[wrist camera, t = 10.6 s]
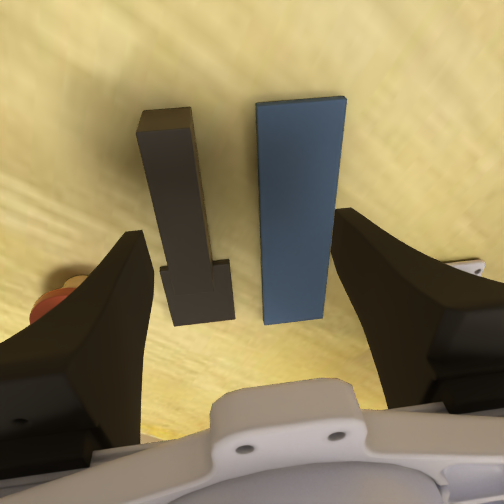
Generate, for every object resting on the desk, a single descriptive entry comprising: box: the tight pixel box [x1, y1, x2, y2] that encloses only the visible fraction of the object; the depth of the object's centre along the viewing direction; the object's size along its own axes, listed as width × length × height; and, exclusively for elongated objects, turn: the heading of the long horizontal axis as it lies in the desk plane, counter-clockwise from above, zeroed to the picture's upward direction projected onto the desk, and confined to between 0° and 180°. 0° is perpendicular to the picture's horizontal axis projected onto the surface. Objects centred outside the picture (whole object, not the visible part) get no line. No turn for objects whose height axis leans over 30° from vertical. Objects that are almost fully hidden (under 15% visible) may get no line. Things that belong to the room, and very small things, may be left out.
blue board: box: [256, 96, 347, 325], centre depth 26 cm, size 18×5×1 cm, turn 2°
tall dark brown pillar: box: [136, 107, 235, 326], centre depth 25 cm, size 17×5×3 cm, turn 2°
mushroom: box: [29, 275, 88, 325], centre depth 26 cm, size 6×6×5 cm
